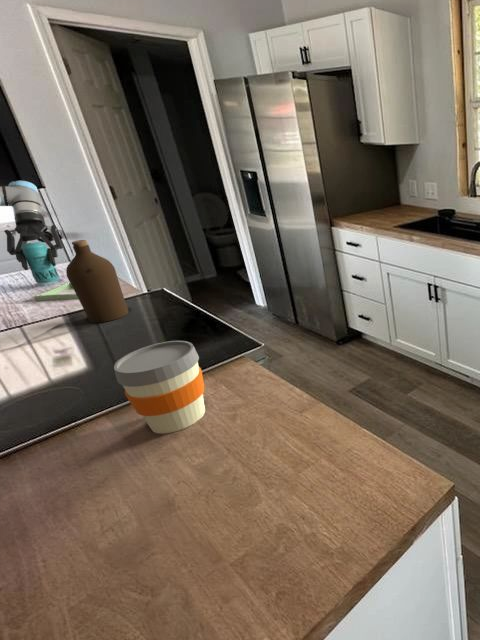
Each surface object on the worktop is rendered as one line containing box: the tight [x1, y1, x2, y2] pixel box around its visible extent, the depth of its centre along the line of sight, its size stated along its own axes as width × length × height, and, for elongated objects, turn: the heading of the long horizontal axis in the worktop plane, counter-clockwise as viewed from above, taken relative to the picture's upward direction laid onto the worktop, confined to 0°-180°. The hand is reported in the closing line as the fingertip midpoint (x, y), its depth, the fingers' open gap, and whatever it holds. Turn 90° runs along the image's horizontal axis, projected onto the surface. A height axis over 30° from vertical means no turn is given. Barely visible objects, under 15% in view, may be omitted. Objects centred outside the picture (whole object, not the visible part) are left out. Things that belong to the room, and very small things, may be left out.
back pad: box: [33, 281, 79, 302], centre depth 150 cm, size 14×14×2 cm
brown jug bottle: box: [66, 239, 129, 324], centre depth 127 cm, size 11×11×25 cm
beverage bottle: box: [21, 234, 60, 285], centre depth 156 cm, size 6×7×20 cm
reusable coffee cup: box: [113, 340, 206, 435], centre depth 82 cm, size 13×13×15 cm
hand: (39, 266), depth 154 cm, fingers closed on beverage bottle, 6 cm apart
